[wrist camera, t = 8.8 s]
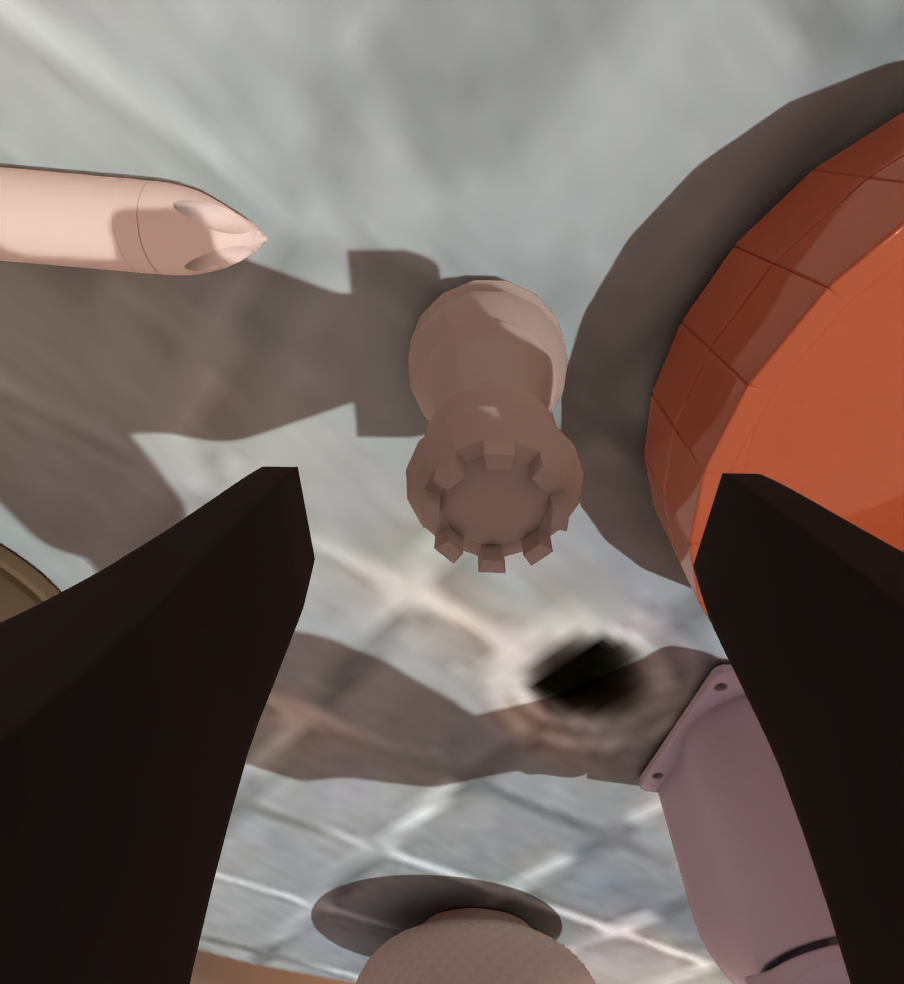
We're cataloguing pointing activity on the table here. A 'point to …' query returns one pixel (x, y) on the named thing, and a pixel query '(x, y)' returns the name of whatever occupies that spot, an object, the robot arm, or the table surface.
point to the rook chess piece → (491, 425)
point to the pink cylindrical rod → (118, 224)
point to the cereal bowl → (473, 953)
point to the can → (20, 585)
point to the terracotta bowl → (795, 357)
